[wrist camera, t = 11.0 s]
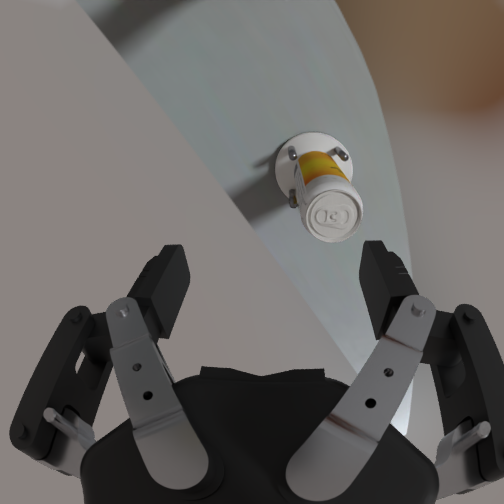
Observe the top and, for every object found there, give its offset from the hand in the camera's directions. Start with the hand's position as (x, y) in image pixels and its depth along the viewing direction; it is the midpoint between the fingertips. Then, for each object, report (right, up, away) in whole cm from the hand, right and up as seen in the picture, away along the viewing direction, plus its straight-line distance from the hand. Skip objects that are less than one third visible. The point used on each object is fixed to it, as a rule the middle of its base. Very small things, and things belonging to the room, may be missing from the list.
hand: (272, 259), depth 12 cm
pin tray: (+8, +12, +26) cm, 30 cm away
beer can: (+8, +12, +25) cm, 29 cm away
